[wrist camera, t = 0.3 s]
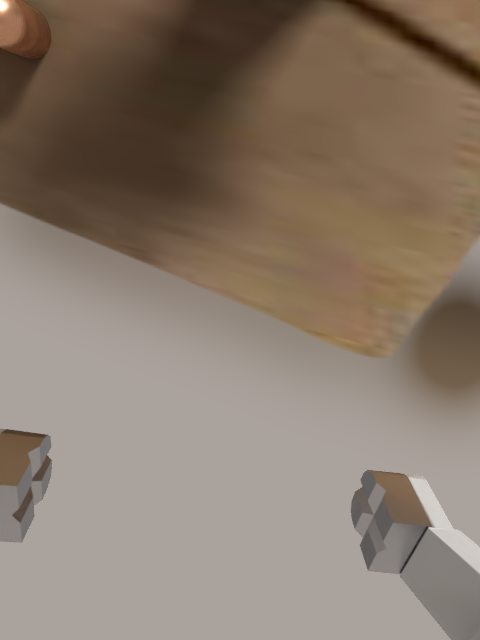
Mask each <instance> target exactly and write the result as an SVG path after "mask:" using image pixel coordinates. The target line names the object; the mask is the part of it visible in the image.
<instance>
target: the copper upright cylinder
mask: <svg viewBox="0 0 480 640" xmlns="http://www.w3.org/2000/svg"><path fill="white" fill-rule="evenodd" d="M50 43H51V32H50V28H49V25H48V23H47V21H46V19H45V18H44V16H43V15H42V14H41V13H40V12H39V11H38V10H36V9H35V8H33V7H32V6H30V5H28V4H27V3H25V2H24V1H22V0H0V48H2V49H4V50H7V51H10V52H12V53H15V54H18V55H20V56H23V57H26V58H29V59H37V58H40V57H42V56H43V55H44V54H45V53H46V52H47V51H48V49H49V47H50Z"/></svg>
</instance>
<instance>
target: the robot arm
mask: <svg viewBox="0 0 480 640" xmlns="http://www.w3.org/2000/svg"><path fill="white" fill-rule="evenodd" d="M50 448H51V438H50V436H49V435H44V434H37V433H30V432H22V431H15V430H8V429H6V430H4V429H0V541H6V542H22V541H23V539H24V537H25V534H26V532H27V530H28V528H29V526H30V524H31V522H32V520H33V518H34V505H35V504H37V503H38V502H39V501H41V500H42V499H43V496H44V494H45V492H46V490H47V487H48V483H49V480H50V476H51V469H52V460H51V459H50V458H49V457H48V456H47V454H48V452H49V450H50ZM361 483H362V486H363V487H362V488H360V489H359V490H357V491H356V492H355V494H354V496H353V499H352V504H351V516H352V521H353V525H354V528H355V530H356V531H357V532H358V533H359V534H360V535H361V536H362V537H363V539H362V541H361V544H360V547H361V550H362V553H363V557H364V560H365V563H366V566H367V569H368V571H375V572H384V573H394V574H401V575H400V577H401V578H402V579H403V581H404V582H405V583H406V584H407V586H408V587H409V588H410V589H411V591H412V592H413V593H414V594H415V595H416V597H417V598H418V599H419V600H420V602H421V603H422V604H423V605H424V607H425V608H426V609H427V610H428V611H429V613H430V614H431V615H432V616H433V618H434V619H435V620H436V621H437V623H438V624H439V625H440V626H441V627H442V629H443V630H444V631H445V633H446V634H447V635H448V636H449V637H450V639H451V640H480V547H479V546H477V545H476V544H475V543H474V542H473V541H471V540H470V539H469V538H468V537H467V536H466V535H464V534H463V533H462V532H461V531H460V530H454V529H453V527H452V526H451V524H450V522H449V520H448V518H447V517H446V515H445V513H444V511H443V509H442V508H441V506H440V504H439V502H438V501H437V499H436V497H435V495H434V493H433V492H432V490H431V488H430V486H429V485H428V483H427V481H426V479H425V478H424V477H422V476H421V475H413V474H401V473H393V472H382V471H373V470H367V471H366V472H364V473H363V476H362V478H361Z"/></svg>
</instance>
